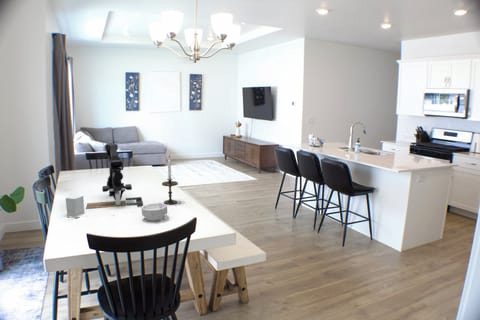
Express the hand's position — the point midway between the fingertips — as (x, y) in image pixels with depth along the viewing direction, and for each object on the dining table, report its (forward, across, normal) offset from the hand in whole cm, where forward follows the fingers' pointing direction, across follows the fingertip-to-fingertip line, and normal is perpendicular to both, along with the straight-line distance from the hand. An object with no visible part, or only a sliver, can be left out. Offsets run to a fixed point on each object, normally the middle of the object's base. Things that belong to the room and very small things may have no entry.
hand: (117, 200), depth 247 cm
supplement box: (+4, -25, -16) cm, 30 cm away
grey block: (+2, 0, 0) cm, 2 cm away
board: (+4, -8, 0) cm, 8 cm away
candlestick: (+4, +35, -4) cm, 35 cm away
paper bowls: (+4, +21, -35) cm, 41 cm away
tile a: (+4, +9, +2) cm, 10 cm away
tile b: (+4, +9, -4) cm, 10 cm away
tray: (+4, +11, 0) cm, 11 cm away
